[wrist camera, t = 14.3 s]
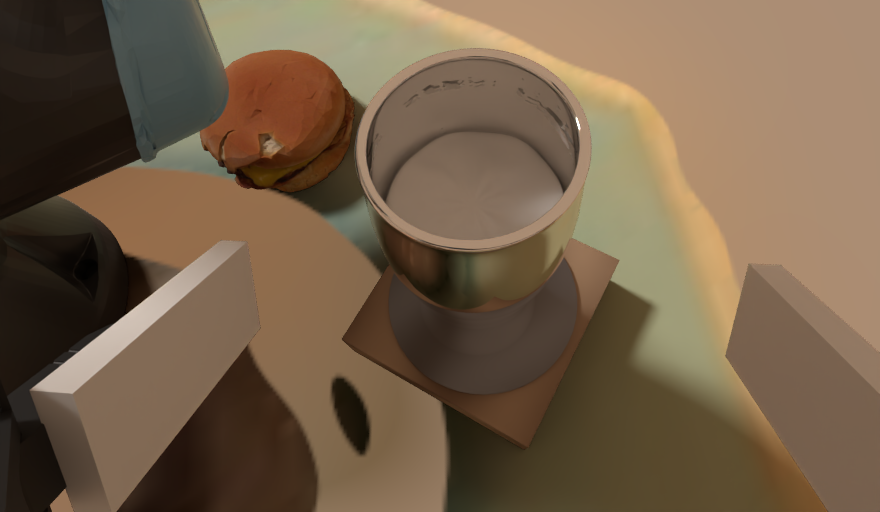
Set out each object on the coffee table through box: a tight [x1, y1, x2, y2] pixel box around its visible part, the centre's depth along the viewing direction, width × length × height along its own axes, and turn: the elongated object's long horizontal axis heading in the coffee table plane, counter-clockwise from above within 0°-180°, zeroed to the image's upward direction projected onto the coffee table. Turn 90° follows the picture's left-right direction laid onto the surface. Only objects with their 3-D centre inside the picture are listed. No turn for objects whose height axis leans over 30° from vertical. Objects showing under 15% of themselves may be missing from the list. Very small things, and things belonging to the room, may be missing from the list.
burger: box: [200, 50, 355, 192], centre depth 36 cm, size 10×9×5 cm
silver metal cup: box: [355, 48, 592, 356], centre depth 22 cm, size 7×7×15 cm
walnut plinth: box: [342, 238, 619, 449], centre depth 30 cm, size 11×11×3 cm
